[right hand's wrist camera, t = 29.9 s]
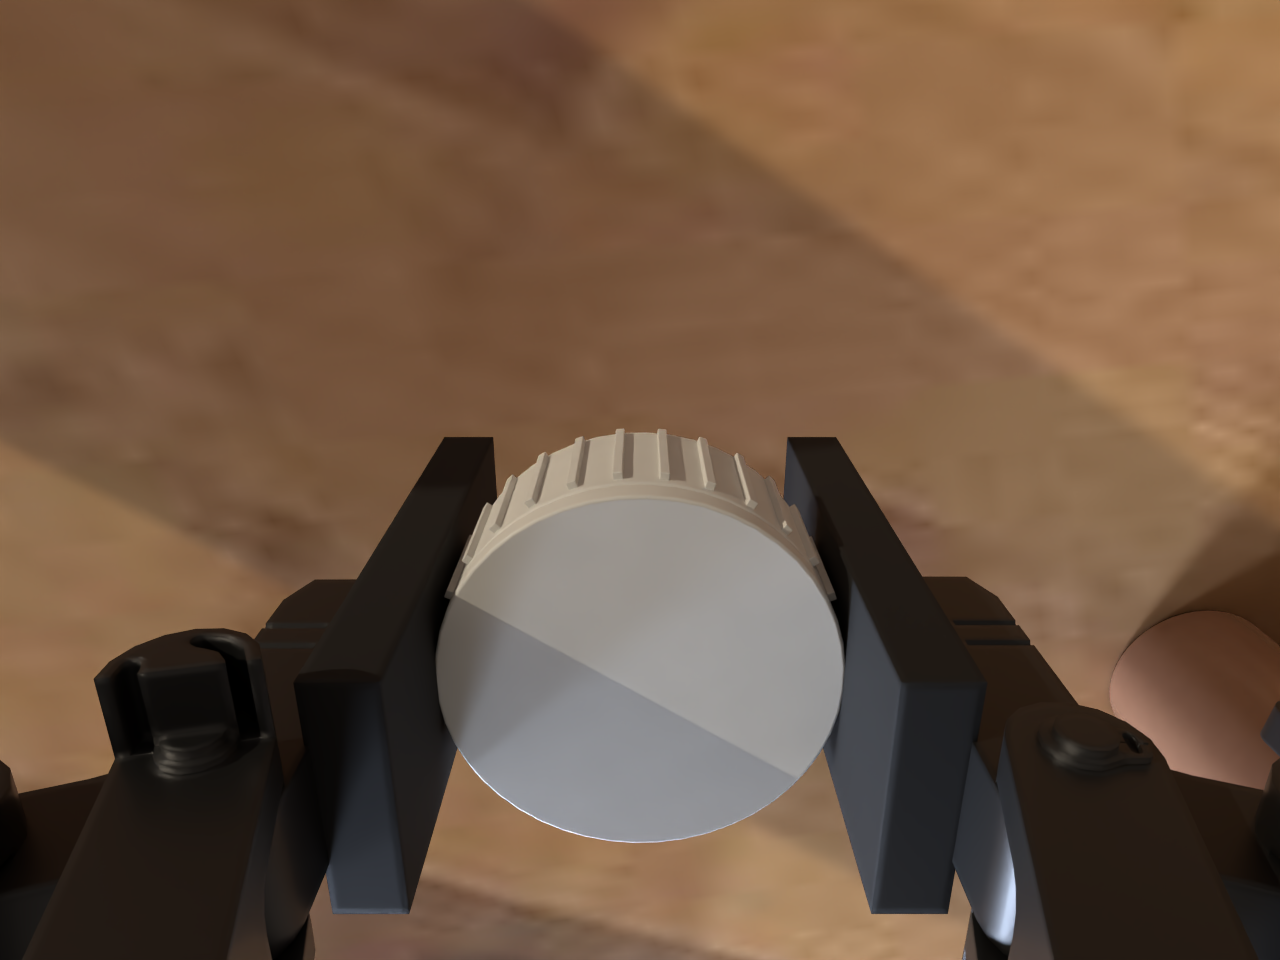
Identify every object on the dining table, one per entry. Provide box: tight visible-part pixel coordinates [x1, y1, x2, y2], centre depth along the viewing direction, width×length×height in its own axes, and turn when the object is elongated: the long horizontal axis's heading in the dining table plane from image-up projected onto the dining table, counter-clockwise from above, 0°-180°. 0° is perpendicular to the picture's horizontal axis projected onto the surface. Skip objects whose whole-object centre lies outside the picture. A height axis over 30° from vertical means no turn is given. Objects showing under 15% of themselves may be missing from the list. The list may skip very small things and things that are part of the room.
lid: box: [435, 429, 845, 843], centre depth 11 cm, size 5×5×2 cm
